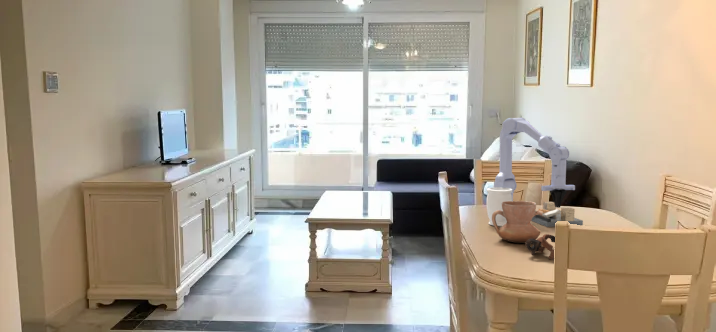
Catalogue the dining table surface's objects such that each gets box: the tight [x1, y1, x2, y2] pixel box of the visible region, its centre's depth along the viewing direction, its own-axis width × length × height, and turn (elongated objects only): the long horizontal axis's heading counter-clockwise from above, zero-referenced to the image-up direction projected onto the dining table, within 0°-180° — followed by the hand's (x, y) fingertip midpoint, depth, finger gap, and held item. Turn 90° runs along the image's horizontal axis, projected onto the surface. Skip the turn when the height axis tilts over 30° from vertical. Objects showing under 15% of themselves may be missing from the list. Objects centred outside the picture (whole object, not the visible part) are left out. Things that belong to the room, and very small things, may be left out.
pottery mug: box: [525, 233, 556, 261], centre depth 190 cm, size 12×10×8 cm
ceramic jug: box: [492, 200, 543, 244], centre depth 212 cm, size 18×14×14 cm
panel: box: [531, 201, 584, 228], centre depth 246 cm, size 16×18×7 cm
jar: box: [486, 186, 512, 227], centre depth 241 cm, size 11×10×15 cm
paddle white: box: [542, 208, 561, 218], centre depth 246 cm, size 7×3×2 cm, turn 102°
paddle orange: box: [537, 208, 556, 216], centre depth 249 cm, size 7×3×2 cm, turn 101°
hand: (557, 207), depth 246 cm, fingers closed
